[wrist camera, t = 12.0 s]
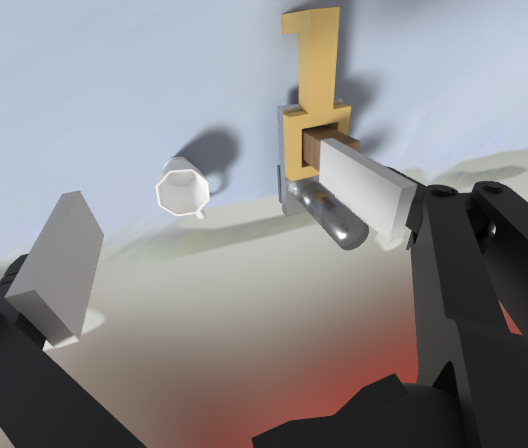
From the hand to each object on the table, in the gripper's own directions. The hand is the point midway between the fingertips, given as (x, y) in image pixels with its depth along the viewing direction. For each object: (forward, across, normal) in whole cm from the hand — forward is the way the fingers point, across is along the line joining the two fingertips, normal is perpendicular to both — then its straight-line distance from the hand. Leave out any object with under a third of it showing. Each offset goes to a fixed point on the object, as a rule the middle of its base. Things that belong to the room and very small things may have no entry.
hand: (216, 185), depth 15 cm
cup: (+27, -2, -11) cm, 29 cm away
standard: (+27, +17, -11) cm, 33 cm away
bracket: (+27, +17, -2) cm, 32 cm away
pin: (+27, +17, -7) cm, 32 cm away
